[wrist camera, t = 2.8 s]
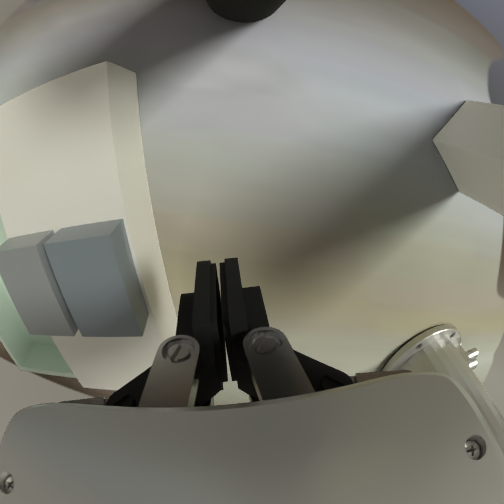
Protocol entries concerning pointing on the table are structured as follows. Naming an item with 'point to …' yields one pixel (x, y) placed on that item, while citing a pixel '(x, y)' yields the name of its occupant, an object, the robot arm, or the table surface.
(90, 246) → the slate tile
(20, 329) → the box
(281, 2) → the drinking cup
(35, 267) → the slate tile
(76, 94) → the cream rectangular block
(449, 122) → the milk
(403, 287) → the table surface
